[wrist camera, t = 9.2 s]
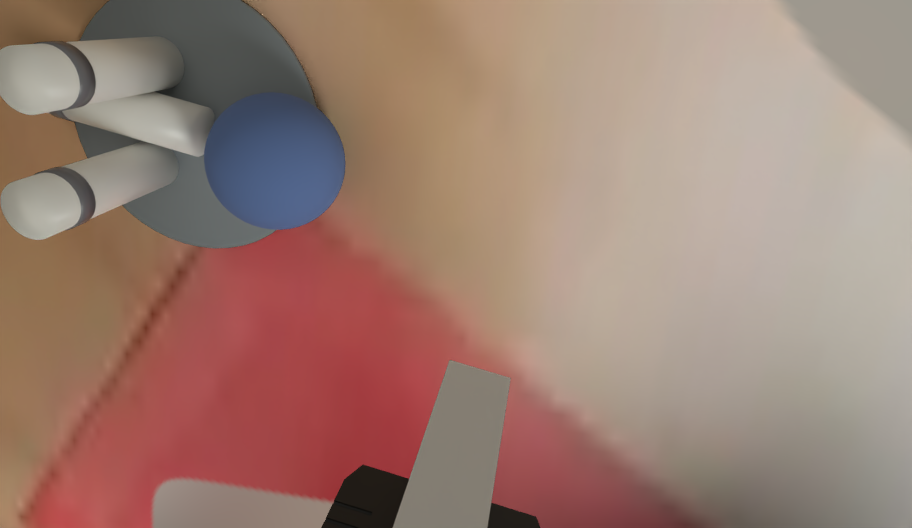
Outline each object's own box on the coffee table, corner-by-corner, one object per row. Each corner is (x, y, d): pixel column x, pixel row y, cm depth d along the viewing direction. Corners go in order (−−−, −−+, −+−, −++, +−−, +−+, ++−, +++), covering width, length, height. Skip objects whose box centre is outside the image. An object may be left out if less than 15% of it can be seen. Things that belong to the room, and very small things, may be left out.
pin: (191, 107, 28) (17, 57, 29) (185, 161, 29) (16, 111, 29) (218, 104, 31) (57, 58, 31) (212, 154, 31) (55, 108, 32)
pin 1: (189, 42, 30) (54, 54, 22) (186, 95, 31) (56, 124, 23) (140, 29, 30) (-12, 35, 22) (138, 81, 31) (-7, 106, 23)
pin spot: (339, 20, 28) (338, 20, 28) (301, 275, 33) (299, 277, 33) (71, -52, 29) (68, -52, 29) (75, 209, 34) (72, 210, 34)
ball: (216, 70, 28) (349, 89, 30) (213, 194, 31) (336, 206, 32) (192, 100, 23) (355, 122, 25) (192, 246, 26) (339, 258, 27)
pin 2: (183, 145, 32) (57, 189, 24) (180, 191, 33) (59, 248, 25) (137, 132, 32) (-3, 171, 24) (135, 178, 33) (1, 231, 25)
